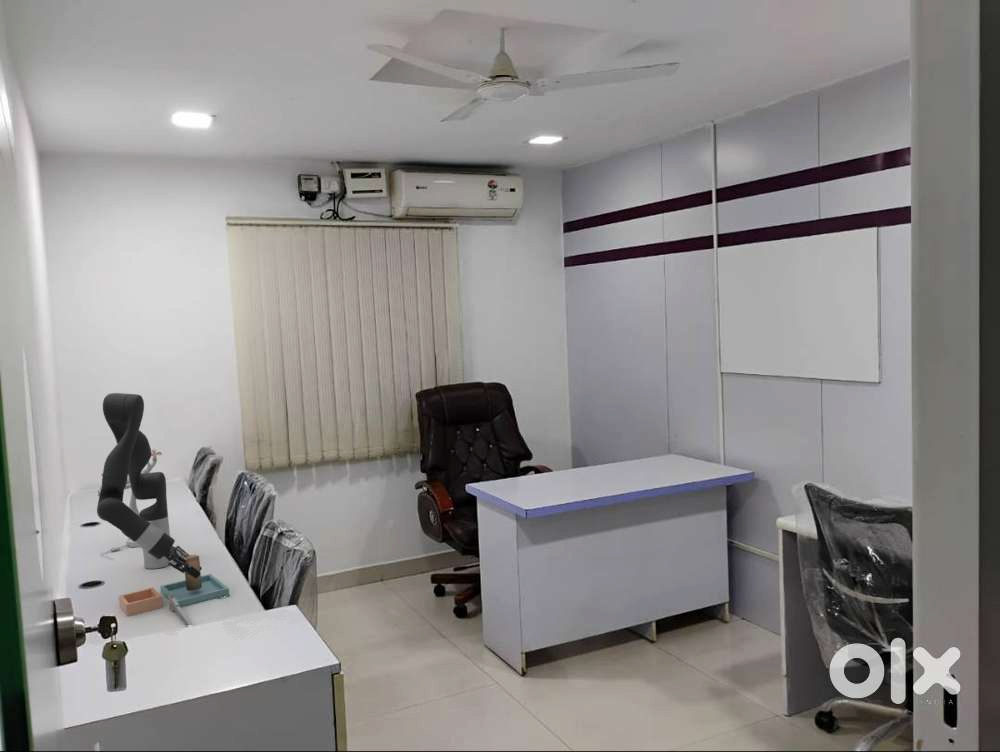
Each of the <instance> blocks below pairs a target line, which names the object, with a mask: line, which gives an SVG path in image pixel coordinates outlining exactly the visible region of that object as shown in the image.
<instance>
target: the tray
mask: <svg viewBox="0 0 1000 752" xmlns="http://www.w3.org/2000/svg"><path fill="white" fill-rule="evenodd" d="M201 583H202V588H200V589H198V590H194V591H188V590H186V580H185V579H184V580H180V581H175V582H171V583H168V584H164V585H160V586H159V587H160V594H162V595H163V596H164V597H165V598H166V599H167V600H168V595H169V593H170V592H172V593H173V594H174V598H175V599H176V601H177V602H178V603H179V606H180V607H181V608H184V607H187V606H190V605H194V604H195V605H196V604H199V603H204V602H207V601H210V600H214V599H217V600H219V599H218V598H220V599H222V598H221V597H224V596H227V595H229V596H230V588H229V587H228V586H227V585H226V584H224V583H223V582H222V581H220V580H219V578H217V577H215V575H213V574H212V573H208V574H203V575H201ZM227 597H228V596H227ZM224 598H225V597H224Z"/></svg>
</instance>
